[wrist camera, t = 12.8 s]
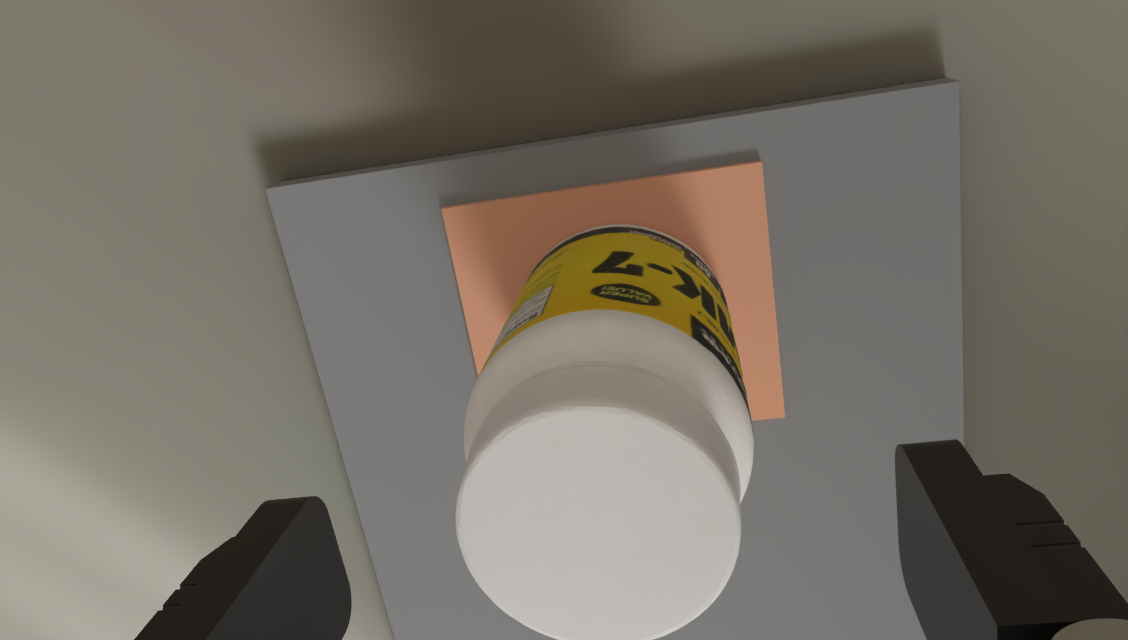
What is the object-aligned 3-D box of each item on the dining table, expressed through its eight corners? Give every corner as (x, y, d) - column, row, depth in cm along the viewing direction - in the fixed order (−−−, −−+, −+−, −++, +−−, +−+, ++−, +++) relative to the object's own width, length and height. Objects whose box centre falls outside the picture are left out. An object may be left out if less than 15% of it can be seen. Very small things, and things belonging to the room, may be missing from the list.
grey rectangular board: (947, 77, 18) (962, 81, 17) (959, 791, 25) (971, 822, 24) (279, 181, 20) (261, 190, 19) (456, 809, 27) (448, 837, 26)
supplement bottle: (773, 303, 19) (851, 519, 11) (643, 450, 21) (631, 727, 13) (599, 174, 18) (554, 307, 11) (479, 335, 20) (363, 553, 12)
